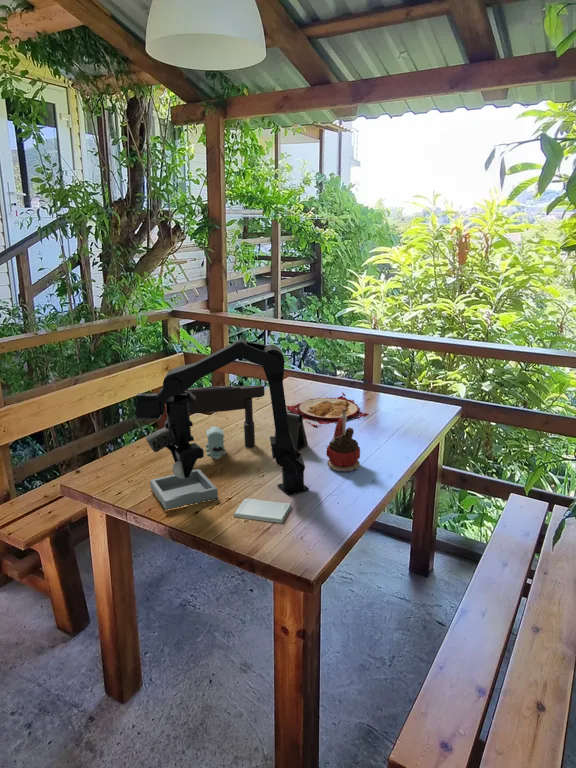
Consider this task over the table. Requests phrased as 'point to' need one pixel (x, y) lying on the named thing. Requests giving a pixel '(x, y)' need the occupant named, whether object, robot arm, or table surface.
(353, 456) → the cake
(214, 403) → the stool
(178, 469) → the garlic
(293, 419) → the phone stand
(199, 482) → the tray
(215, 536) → the table surface
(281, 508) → the hard drive
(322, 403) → the plate with food
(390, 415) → the table surface
